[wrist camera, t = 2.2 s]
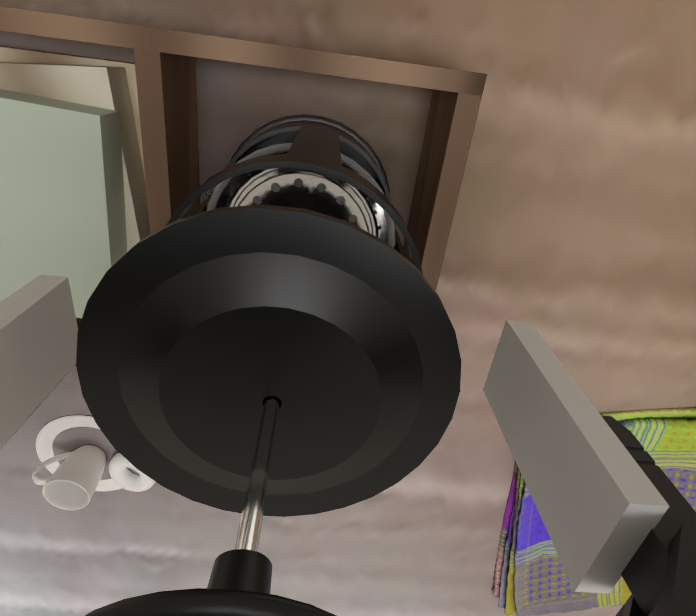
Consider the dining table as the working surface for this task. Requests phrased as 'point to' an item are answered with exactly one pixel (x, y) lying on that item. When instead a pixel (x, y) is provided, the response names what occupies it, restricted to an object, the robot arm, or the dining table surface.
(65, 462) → the teacup and saucer
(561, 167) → the dining table surface
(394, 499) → the dining table surface
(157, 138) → the walnut tray
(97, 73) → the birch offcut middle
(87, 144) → the sage offcut top
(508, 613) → the dish towel
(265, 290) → the french press
